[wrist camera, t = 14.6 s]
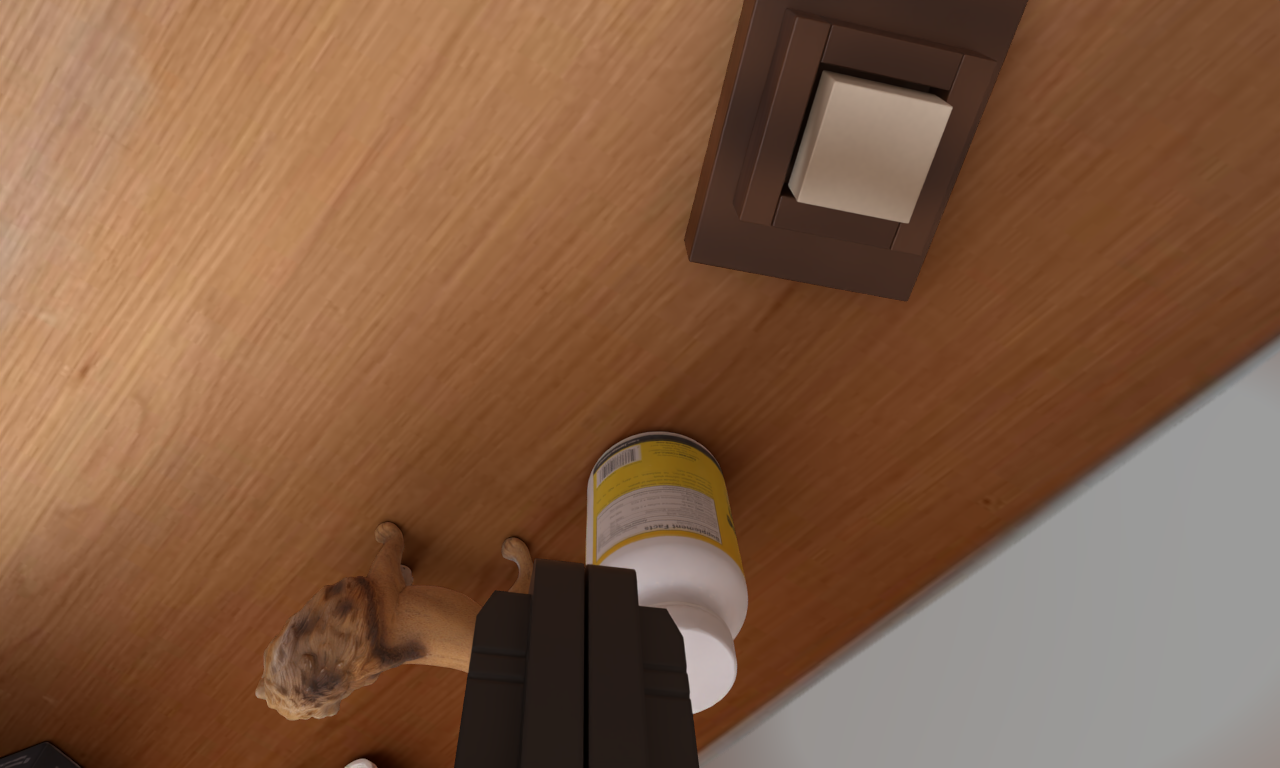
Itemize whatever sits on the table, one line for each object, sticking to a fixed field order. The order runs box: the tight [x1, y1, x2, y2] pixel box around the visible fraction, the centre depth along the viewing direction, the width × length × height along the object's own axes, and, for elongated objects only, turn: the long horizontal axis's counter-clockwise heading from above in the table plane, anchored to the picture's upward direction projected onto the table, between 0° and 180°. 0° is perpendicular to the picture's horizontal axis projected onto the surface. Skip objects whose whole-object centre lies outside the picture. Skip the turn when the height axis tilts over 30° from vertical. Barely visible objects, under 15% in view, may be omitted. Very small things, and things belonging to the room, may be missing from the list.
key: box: [788, 70, 953, 223], centre depth 29 cm, size 4×4×2 cm
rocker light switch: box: [684, 0, 1028, 301], centre depth 32 cm, size 12×9×4 cm
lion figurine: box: [256, 522, 534, 720], centre depth 40 cm, size 15×5×9 cm, turn 85°
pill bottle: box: [585, 432, 748, 714], centre depth 37 cm, size 6×6×12 cm
